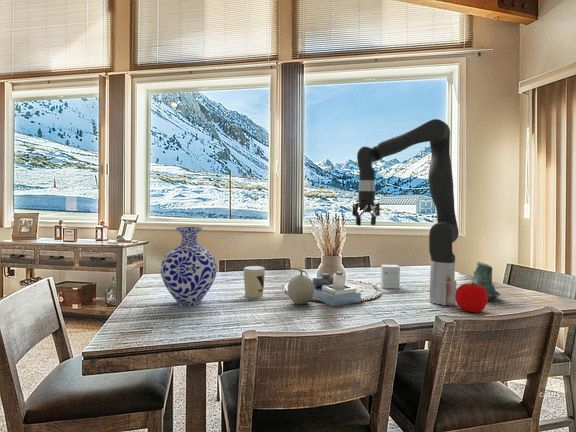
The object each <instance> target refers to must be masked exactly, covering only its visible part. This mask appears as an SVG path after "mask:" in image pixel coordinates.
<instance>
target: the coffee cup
mask: <svg viewBox="0 0 576 432" xmlns="http://www.w3.org/2000/svg"><path fill="white" fill-rule="evenodd" d="M265 271H266V268H265V267H264V266H260V265H251V266H245V267H244V268H243V283H244V294H245V295H244V296H245V297H247V298H260V297H263V296H264V289H265V288H264V286H265Z"/></svg>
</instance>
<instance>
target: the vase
mask: <svg viewBox="0 0 576 432" xmlns="http://www.w3.org/2000/svg"><path fill="white" fill-rule="evenodd" d="M175 230H176V231H177V232H179V233H180V234H181V242H180V244H179V245H177V246H176V247H174V248H172V249H171V250H170V251H169V252H168V253H167V254H166V255H165V256H164V258H163V260H162V262H161V265H160V266H161V267H160V277H161V279H162V281H163V284H164V286H165V288H166V290H167V291H168V292H169V294H170V295H171V296H172V297H173V299H174V300H175V301H176V302H177V305H179V306H182V307H190V306H191V307H192V306H197V305H199V304H201V302H202V301H203V299H204V298H205V296H206V295H207V294H208V292H209V290H210V289H211V287H212V286H213V283H214V282H215V280H216V276H217V271H218V268H217V261H216V259H215V256H214V255H213V254H212V252H210V251H209V250H208V249H207V248H205V247H204V246H202V245H200V244H199V243H198V240H197V237H198V233H199V232H201V231H202V230H203V227H202V226H201V227H199V226H182V227H181V226H179V227H175Z"/></svg>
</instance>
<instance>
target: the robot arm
mask: <svg viewBox="0 0 576 432" xmlns="http://www.w3.org/2000/svg"><path fill="white" fill-rule="evenodd" d="M450 141H451V130H450V126H449V125H448V124H447V123H446V122H445V121H443V120H441V119H438V118H433V119H430V120H428V121H426V122H425V123H422V124H421V125H418V126H417V127H415V128H413V129H411V130H409V131H406V132H404V133H402V134H399V135H396V136H393V137H391V138H388V139H385V140H382V141H380V142H379V143H377V145H375V146H373V147H370V146H366V145H365V146H361V147H360V148H359V149H358V151H357V155H356V159H357V166H358V170H359V175H358V176H359V177H358V180H359V181H358V197H357V200H358V202H353V203H352V216H354V217H355V225H356V226H359V227H360V226H361V224H362V215H363V214H364V213H368V214H369V215H370V217H371V218H370V225H371V226H376V222H377V217H378V216H380V213H381V212H380V211H381V210H380V208H381V207H380V203H379V202H375V201H376V200H375V199H376V181H375V179H376V177H375V176H376V171H375V168H373V165H372V163H375V162H378V161H380V160H382V159H383V158H386V157H389V156H392V155H396V154H398V153H401V152H403V151H404V150H406V149H408V148H410V147H412V146H415V145H417V144H421V143H427V142H429V145H430V151H431V157H430V159H431V160H430V163H429V168H428V186H429V187H428V189H429V193H430V196H431V199H432V201H433V204H434V207H435V209H436V217H437V218H436V219H437V221H436V223H434V224H433V225H432V226H431V227H430V229H429V236H428V251H429V255H430V278H429V302H430V303H431V302H432V304H434V303H436V304H435V305H438V304H441V305H440V306H444V305H449V306H454V305H457V303H456V300H455V295H456V290H457V284H458V283H457V281H456V280H455V278H456V277H455V275H456V274H455V273H456V272H455V271H456V269H455V268H456V255H455V254H454V252H453V243H455V242H456V241H457V239H458V238H459V227H458V222H457V216H456V211H455V193H454V192H455V191H454V179H453V177H454V176H453V167H452V161H451V155H450V153H451V152H450V151H451V150H450V148H451V147H450V144H451V142H450Z"/></svg>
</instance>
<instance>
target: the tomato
mask: <svg viewBox="0 0 576 432" xmlns="http://www.w3.org/2000/svg"><path fill="white" fill-rule="evenodd" d="M455 300H456V305H457V306H458V307H459V308H460V309H462V310H464V311H466V312H468V313H473V312H476V313H482V312H483V311H484V309H486V306H487V303H488V302H489V301H488V293H487V291H486V289H485V288H484V287H483V286H481V285H478V284H474V283H472V284H471V283H469V282H465V283H462V284H461V285H460V286H458V287H457V288H456V295H455Z"/></svg>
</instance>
